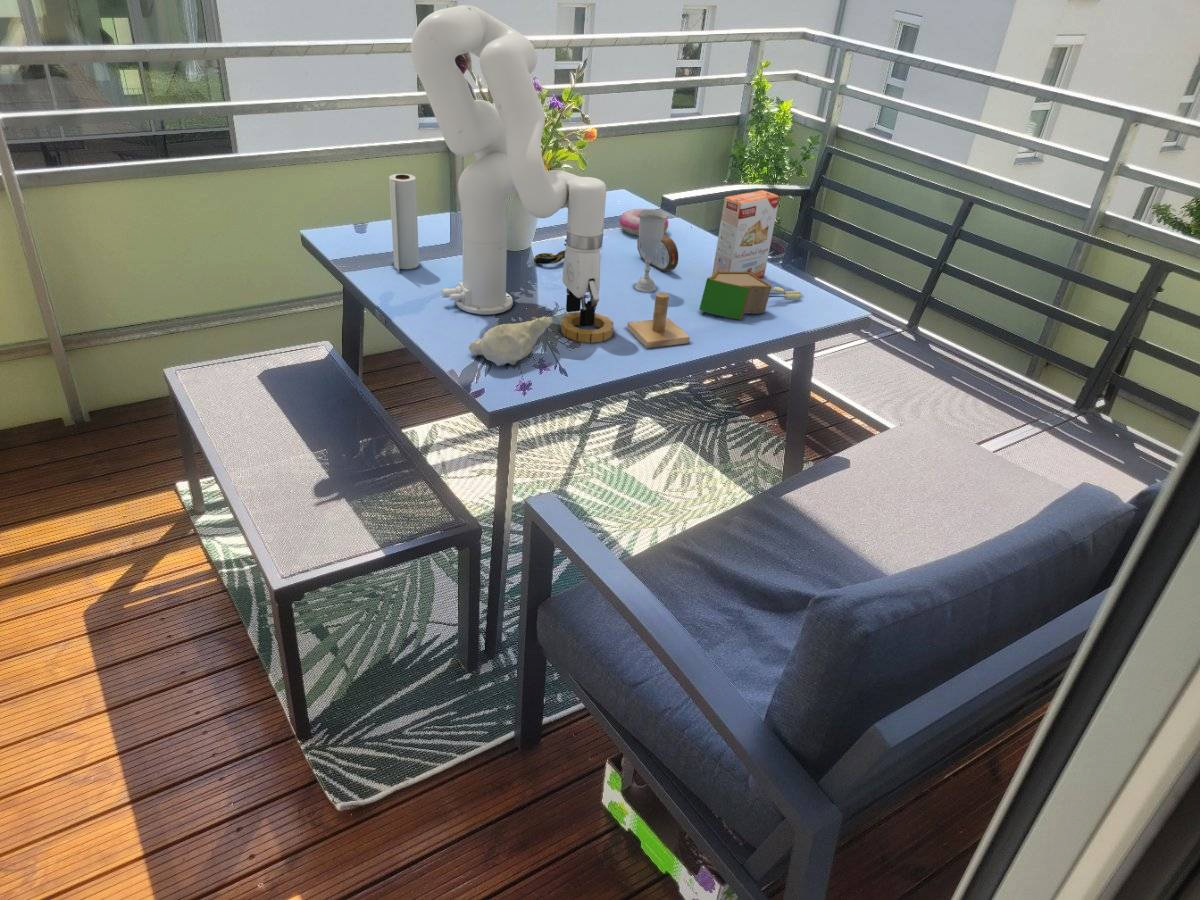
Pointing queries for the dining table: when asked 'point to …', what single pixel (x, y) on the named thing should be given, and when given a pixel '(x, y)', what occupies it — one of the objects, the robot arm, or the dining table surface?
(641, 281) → the chalice
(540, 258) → the toy snake
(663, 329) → the stand
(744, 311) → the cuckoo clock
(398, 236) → the paper towel roll
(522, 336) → the conch shell
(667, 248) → the tin
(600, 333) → the ring
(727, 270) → the cracker box
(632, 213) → the donut
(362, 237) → the dining table surface
